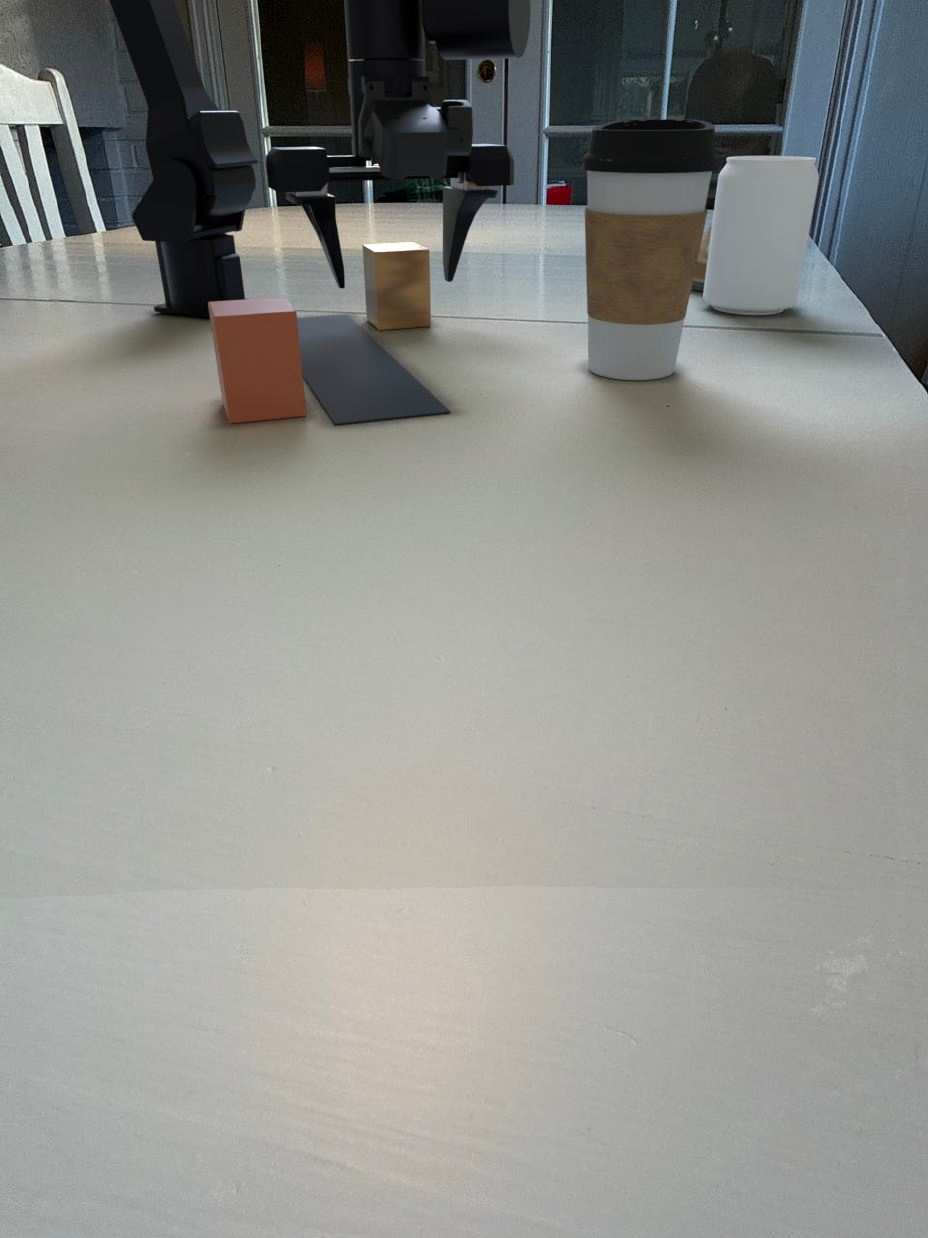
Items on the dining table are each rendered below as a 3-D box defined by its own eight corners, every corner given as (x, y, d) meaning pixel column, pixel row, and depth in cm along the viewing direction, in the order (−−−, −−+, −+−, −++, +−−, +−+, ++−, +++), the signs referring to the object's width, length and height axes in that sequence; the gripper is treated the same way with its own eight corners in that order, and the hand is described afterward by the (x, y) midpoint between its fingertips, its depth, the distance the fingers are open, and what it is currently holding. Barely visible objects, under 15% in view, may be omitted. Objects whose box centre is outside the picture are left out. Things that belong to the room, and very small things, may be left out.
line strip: (450, 412, 52) (450, 411, 52) (334, 424, 50) (334, 423, 50) (347, 315, 76) (347, 314, 76) (267, 321, 74) (267, 320, 74)
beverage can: (800, 318, 74) (829, 160, 68) (703, 315, 76) (723, 159, 70) (789, 300, 81) (815, 155, 75) (700, 298, 82) (718, 155, 76)
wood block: (378, 330, 71) (374, 251, 68) (366, 319, 75) (362, 244, 72) (431, 326, 72) (429, 248, 69) (416, 315, 76) (414, 241, 73)
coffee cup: (699, 359, 62) (730, 118, 55) (685, 390, 56) (718, 120, 48) (584, 350, 65) (599, 119, 57) (557, 379, 58) (569, 121, 50)
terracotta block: (229, 424, 50) (213, 316, 47) (222, 402, 54) (207, 301, 51) (306, 416, 51) (296, 310, 48) (295, 395, 55) (284, 296, 52)
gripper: (274, 54, 55) (299, 310, 63) (545, 57, 60) (537, 294, 68) (254, 62, 64) (277, 284, 72) (490, 64, 69) (488, 272, 77)
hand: (395, 284), depth 72 cm, fingers open, 9 cm apart
